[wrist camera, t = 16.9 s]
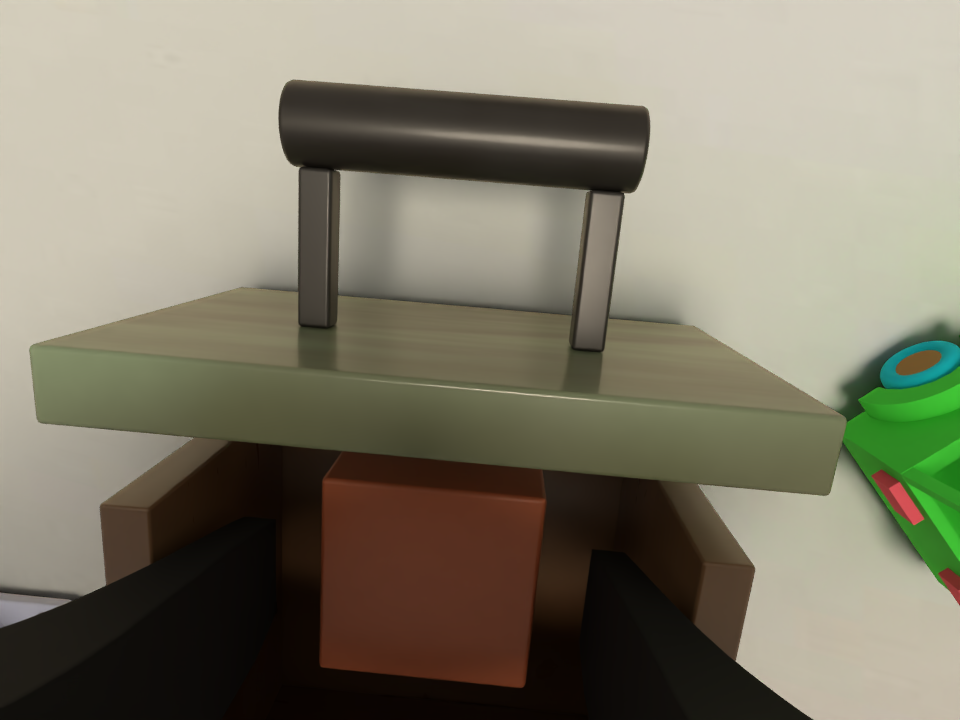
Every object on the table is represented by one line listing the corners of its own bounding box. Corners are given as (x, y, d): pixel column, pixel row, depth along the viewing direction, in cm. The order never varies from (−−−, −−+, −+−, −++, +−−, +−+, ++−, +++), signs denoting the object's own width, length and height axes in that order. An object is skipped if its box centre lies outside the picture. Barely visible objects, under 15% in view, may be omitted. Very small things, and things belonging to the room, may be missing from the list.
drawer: (236, 107, 14) (-11, 10, 7) (727, 145, 14) (933, 80, 7) (247, 671, 18) (91, 944, 11) (630, 711, 17) (705, 1015, 11)
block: (366, 554, 15) (317, 669, 11) (371, 406, 14) (320, 478, 10) (521, 569, 15) (525, 690, 11) (537, 421, 14) (547, 499, 10)
